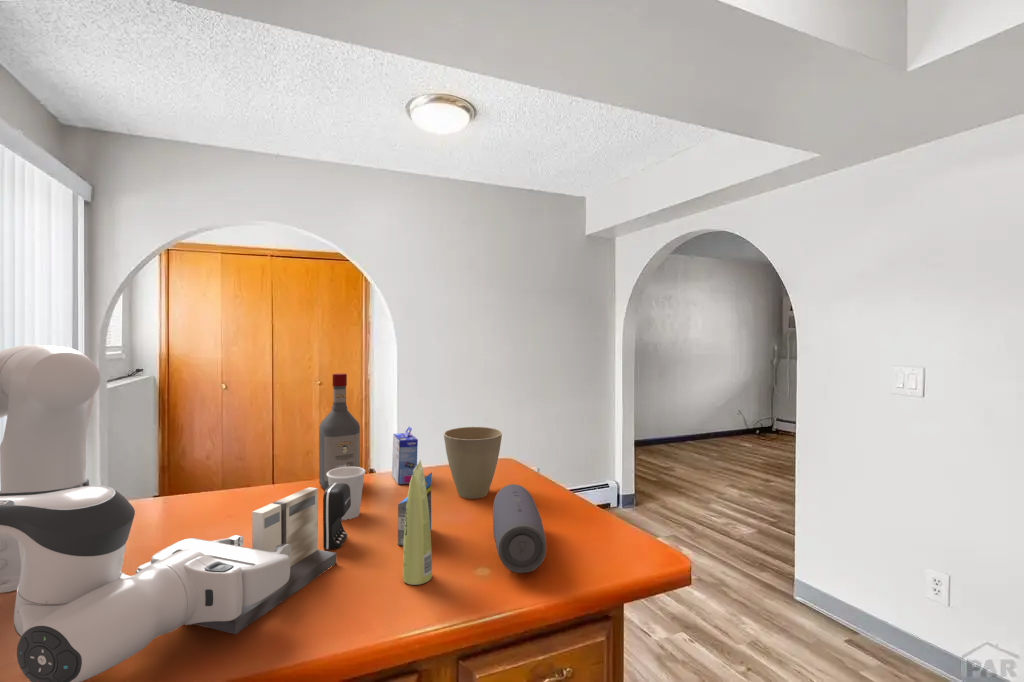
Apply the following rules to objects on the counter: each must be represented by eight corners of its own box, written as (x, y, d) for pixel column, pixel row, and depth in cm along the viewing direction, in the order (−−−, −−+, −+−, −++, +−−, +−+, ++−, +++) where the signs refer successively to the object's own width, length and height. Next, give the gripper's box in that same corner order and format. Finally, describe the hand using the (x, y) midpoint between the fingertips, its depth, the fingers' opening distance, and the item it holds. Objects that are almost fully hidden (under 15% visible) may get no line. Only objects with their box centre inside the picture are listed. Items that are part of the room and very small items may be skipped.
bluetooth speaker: (549, 580, 86) (550, 522, 86) (495, 581, 85) (495, 523, 85) (534, 527, 109) (535, 481, 108) (491, 528, 108) (491, 481, 108)
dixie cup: (370, 517, 113) (370, 473, 113) (332, 525, 108) (332, 479, 108) (358, 506, 120) (358, 464, 120) (322, 513, 115) (322, 469, 115)
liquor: (362, 487, 134) (362, 374, 133) (326, 493, 128) (326, 376, 128) (351, 478, 141) (351, 372, 140) (317, 484, 136) (317, 373, 135)
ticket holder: (235, 634, 70) (234, 539, 70) (181, 620, 73) (180, 529, 73) (336, 563, 91) (336, 490, 90) (291, 555, 94) (290, 484, 94)
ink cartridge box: (418, 483, 138) (418, 430, 137) (398, 485, 136) (398, 432, 135) (410, 473, 147) (410, 424, 146) (391, 475, 145) (391, 425, 144)
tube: (394, 576, 86) (395, 463, 86) (420, 567, 90) (420, 458, 89) (412, 589, 82) (413, 470, 82) (438, 579, 86) (439, 465, 85)
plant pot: (444, 485, 136) (444, 427, 135) (499, 484, 137) (499, 426, 137) (442, 505, 121) (442, 439, 121) (504, 503, 123) (504, 438, 122)
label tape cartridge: (414, 528, 107) (415, 470, 107) (432, 529, 107) (432, 471, 106) (397, 545, 99) (397, 483, 98) (415, 547, 98) (416, 484, 98)
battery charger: (342, 551, 96) (342, 491, 96) (322, 551, 96) (322, 491, 96) (352, 535, 103) (352, 480, 103) (333, 536, 103) (333, 480, 102)
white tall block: (262, 582, 80) (262, 513, 79) (252, 580, 80) (251, 511, 80) (281, 570, 83) (281, 504, 83) (271, 568, 84) (271, 503, 84)
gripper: (127, 596, 71) (213, 554, 84) (242, 623, 64) (315, 573, 78) (126, 551, 70) (212, 516, 84) (242, 574, 64) (315, 532, 77)
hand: (263, 544), depth 81 cm, fingers open, 8 cm apart
